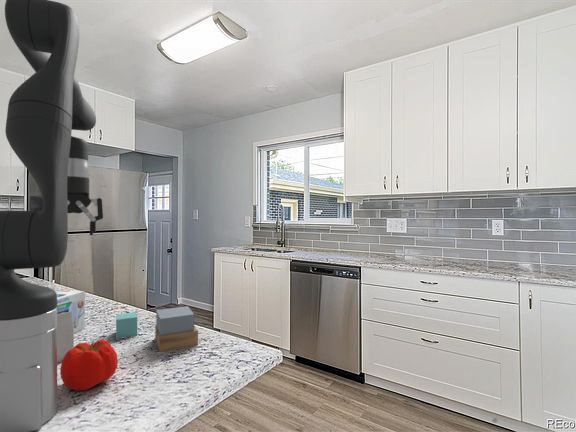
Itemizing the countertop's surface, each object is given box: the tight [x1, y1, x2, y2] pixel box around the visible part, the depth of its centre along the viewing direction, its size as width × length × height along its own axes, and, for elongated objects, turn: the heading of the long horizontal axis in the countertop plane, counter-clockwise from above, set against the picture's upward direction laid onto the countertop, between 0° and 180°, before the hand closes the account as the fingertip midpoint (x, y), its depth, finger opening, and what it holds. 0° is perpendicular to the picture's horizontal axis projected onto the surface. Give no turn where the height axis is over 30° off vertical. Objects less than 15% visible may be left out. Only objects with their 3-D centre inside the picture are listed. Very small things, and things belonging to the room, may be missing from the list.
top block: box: [155, 305, 195, 336], centre depth 85 cm, size 8×8×4 cm
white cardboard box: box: [57, 312, 75, 363], centre depth 75 cm, size 4×7×10 cm, turn 137°
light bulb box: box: [56, 289, 86, 334], centre depth 91 cm, size 11×7×11 cm, turn 168°
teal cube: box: [115, 311, 138, 339], centre depth 91 cm, size 5×5×5 cm
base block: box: [154, 324, 199, 353], centre depth 85 cm, size 9×9×4 cm
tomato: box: [59, 339, 119, 391], centre depth 65 cm, size 9×9×8 cm
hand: (73, 235), depth 92 cm, fingers open, 8 cm apart
